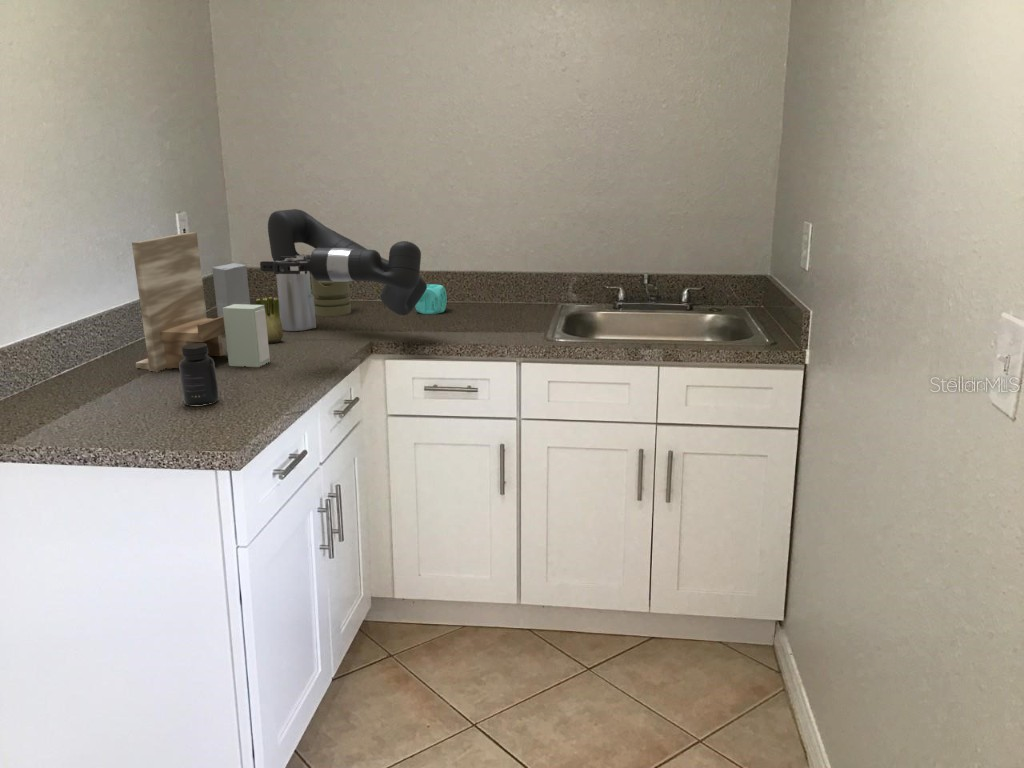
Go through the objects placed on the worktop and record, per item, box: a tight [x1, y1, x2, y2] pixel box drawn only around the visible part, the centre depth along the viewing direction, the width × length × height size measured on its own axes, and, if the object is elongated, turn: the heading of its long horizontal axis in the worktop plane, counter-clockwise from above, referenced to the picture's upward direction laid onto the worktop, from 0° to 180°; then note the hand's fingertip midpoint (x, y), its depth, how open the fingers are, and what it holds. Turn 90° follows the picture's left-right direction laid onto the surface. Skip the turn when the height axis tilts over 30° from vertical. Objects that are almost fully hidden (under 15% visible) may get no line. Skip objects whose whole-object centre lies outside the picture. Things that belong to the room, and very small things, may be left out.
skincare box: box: [211, 262, 251, 318], centre depth 259 cm, size 8×7×16 cm
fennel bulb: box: [255, 296, 284, 344], centre depth 225 cm, size 6×5×12 cm
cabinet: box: [223, 304, 271, 368], centre depth 202 cm, size 8×5×14 cm, turn 76°
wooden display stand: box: [131, 231, 225, 373], centre depth 203 cm, size 18×22×30 cm
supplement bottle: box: [178, 343, 220, 405], centre depth 172 cm, size 7×7×12 cm
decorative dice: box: [414, 283, 448, 315], centre depth 262 cm, size 8×8×8 cm
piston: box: [310, 274, 352, 317], centre depth 263 cm, size 11×12×11 cm
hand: (270, 263), depth 195 cm, fingers open, 8 cm apart
